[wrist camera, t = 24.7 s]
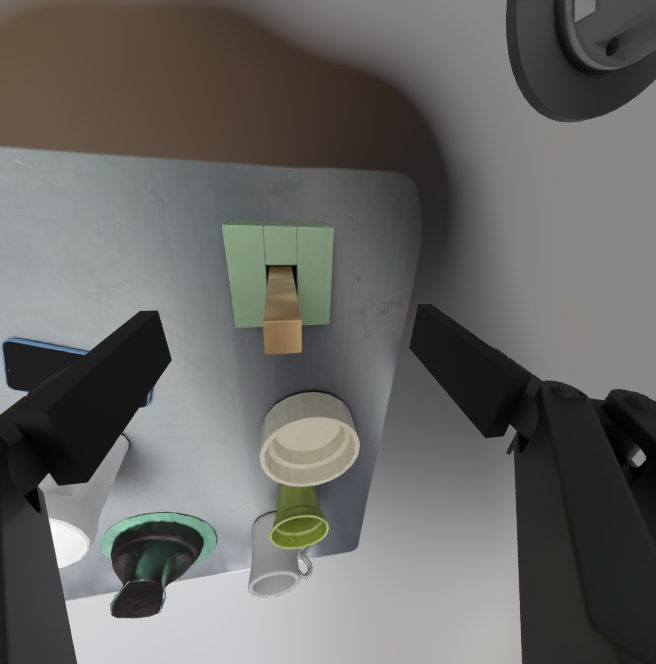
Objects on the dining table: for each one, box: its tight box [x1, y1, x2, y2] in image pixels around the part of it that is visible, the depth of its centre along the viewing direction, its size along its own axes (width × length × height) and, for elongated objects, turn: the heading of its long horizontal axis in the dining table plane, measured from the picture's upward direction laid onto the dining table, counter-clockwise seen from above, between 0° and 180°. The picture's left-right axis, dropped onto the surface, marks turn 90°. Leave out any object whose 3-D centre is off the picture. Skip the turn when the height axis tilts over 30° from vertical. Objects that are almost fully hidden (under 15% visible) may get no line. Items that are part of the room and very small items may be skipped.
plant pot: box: [270, 483, 329, 549], centre depth 45 cm, size 9×9×9 cm
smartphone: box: [2, 338, 151, 408], centre depth 32 cm, size 7×1×15 cm
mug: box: [248, 512, 312, 598], centre depth 50 cm, size 12×9×10 cm
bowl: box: [260, 392, 360, 487], centre depth 40 cm, size 14×14×6 cm
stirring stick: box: [263, 265, 302, 355], centre depth 23 cm, size 2×2×18 cm
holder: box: [222, 220, 334, 328], centre depth 28 cm, size 10×10×6 cm
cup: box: [38, 435, 129, 568], centre depth 32 cm, size 10×10×13 cm
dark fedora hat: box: [101, 513, 216, 618], centre depth 49 cm, size 15×19×20 cm
